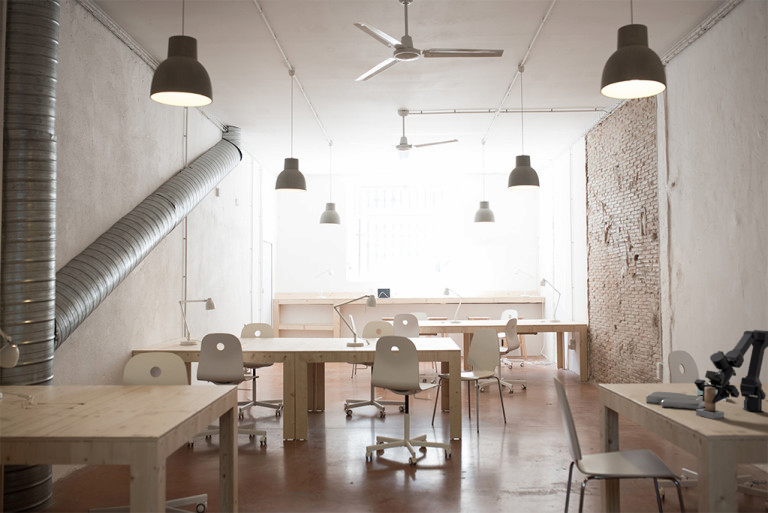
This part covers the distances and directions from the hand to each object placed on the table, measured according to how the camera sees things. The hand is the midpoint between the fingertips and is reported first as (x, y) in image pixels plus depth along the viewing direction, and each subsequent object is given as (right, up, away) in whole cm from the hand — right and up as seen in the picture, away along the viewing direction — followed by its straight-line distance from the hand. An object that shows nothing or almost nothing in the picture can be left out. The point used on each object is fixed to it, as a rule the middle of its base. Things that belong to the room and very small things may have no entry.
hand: (708, 401), depth 267 cm
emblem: (-1, -8, +26) cm, 28 cm away
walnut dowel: (+1, -7, 0) cm, 7 cm away
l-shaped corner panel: (+27, -10, +45) cm, 53 cm away
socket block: (+1, -7, 0) cm, 7 cm away
